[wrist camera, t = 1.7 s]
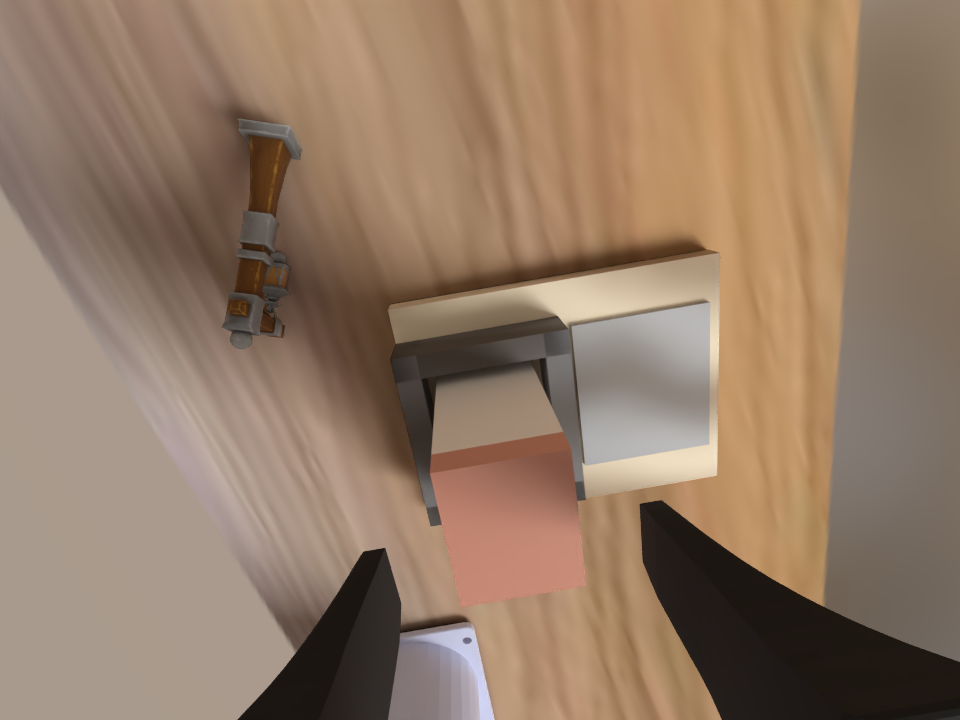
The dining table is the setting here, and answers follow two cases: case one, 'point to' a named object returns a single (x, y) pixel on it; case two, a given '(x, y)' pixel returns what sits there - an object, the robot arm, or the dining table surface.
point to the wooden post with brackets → (261, 236)
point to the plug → (504, 486)
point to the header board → (584, 365)
